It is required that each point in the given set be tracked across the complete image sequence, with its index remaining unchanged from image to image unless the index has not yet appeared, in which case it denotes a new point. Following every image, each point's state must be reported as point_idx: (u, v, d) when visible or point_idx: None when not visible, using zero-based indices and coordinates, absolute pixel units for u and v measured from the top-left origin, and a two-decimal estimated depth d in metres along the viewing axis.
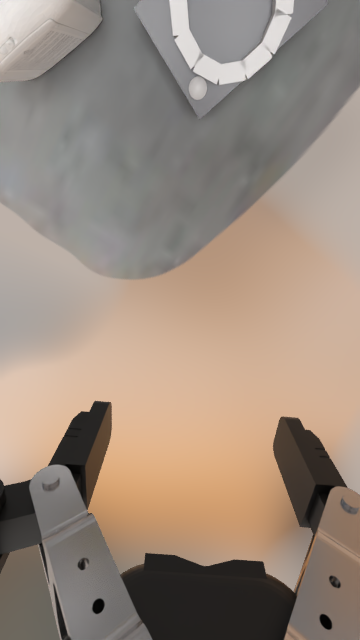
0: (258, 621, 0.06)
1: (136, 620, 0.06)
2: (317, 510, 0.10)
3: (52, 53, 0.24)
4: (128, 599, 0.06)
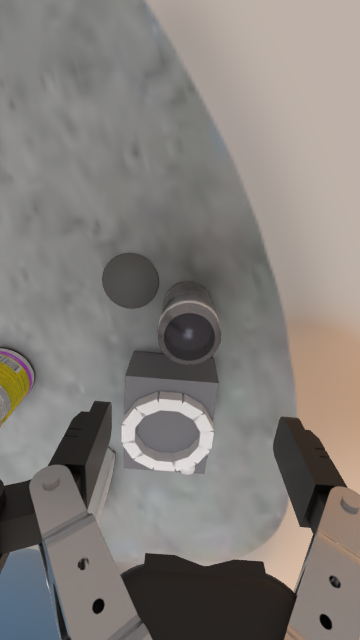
0: (258, 621, 0.06)
1: (136, 620, 0.06)
2: (317, 510, 0.10)
3: (103, 508, 0.35)
4: (128, 599, 0.06)
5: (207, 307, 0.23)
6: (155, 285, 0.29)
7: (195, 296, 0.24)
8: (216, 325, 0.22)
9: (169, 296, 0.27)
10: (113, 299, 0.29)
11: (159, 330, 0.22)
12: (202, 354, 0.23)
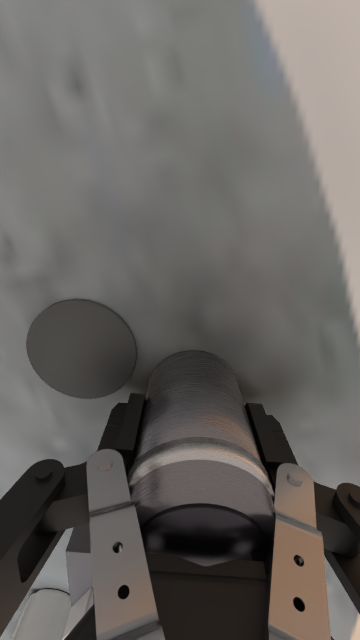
0: (258, 621, 0.06)
1: (155, 620, 0.06)
2: None
3: None
4: (151, 596, 0.06)
5: (247, 469, 0.09)
6: (130, 359, 0.15)
7: (213, 419, 0.10)
8: None
9: (155, 395, 0.13)
10: (51, 383, 0.15)
11: None
12: None
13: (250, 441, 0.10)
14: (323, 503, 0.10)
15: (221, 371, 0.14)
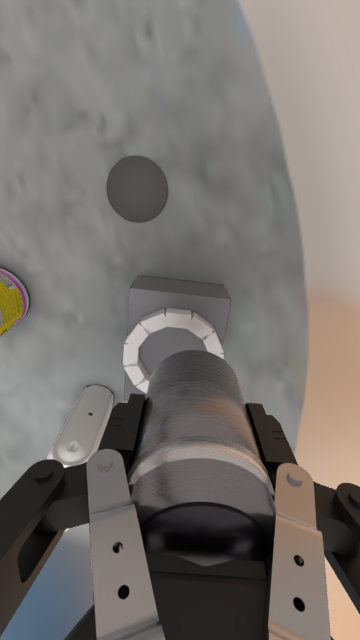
0: (258, 621, 0.06)
1: (155, 620, 0.06)
2: None
3: None
4: (151, 596, 0.06)
5: (247, 468, 0.09)
6: (164, 195, 0.27)
7: (213, 418, 0.10)
8: None
9: (155, 394, 0.13)
10: (117, 210, 0.27)
11: None
12: None
13: (250, 440, 0.10)
14: (323, 503, 0.10)
15: (221, 370, 0.14)
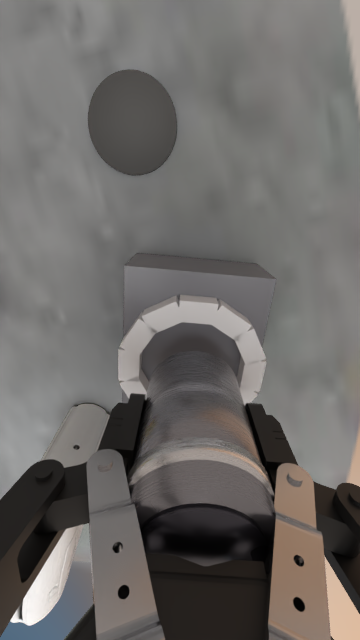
0: (258, 621, 0.06)
1: (155, 619, 0.06)
2: None
3: None
4: (151, 596, 0.06)
5: (247, 469, 0.09)
6: (172, 131, 0.18)
7: (213, 419, 0.10)
8: None
9: (155, 395, 0.13)
10: (105, 157, 0.19)
11: None
12: None
13: (250, 441, 0.10)
14: (323, 503, 0.10)
15: (221, 371, 0.14)
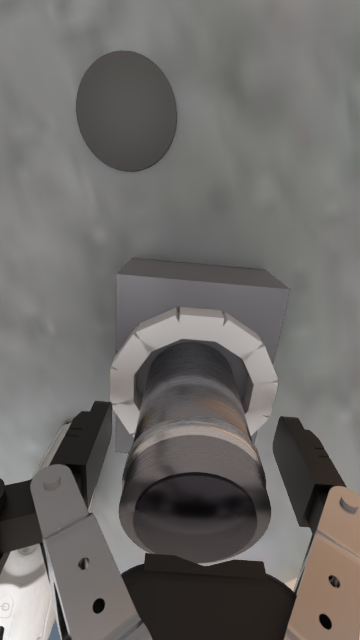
0: (258, 621, 0.06)
1: (136, 620, 0.06)
2: (316, 509, 0.10)
3: None
4: (128, 599, 0.06)
5: (237, 444, 0.10)
6: (171, 121, 0.16)
7: (207, 401, 0.11)
8: (260, 496, 0.09)
9: (154, 382, 0.14)
10: (96, 151, 0.17)
11: (122, 504, 0.09)
12: (225, 553, 0.10)
13: (242, 422, 0.11)
14: None
15: (216, 360, 0.15)
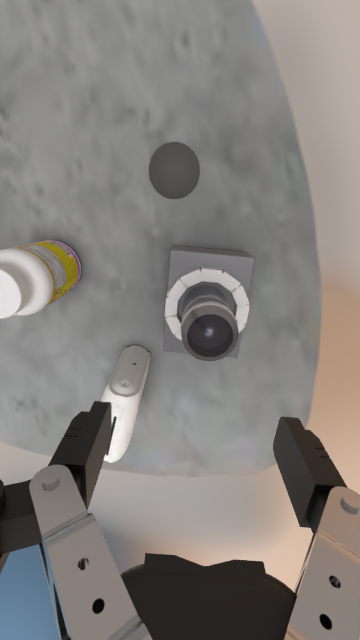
0: (258, 621, 0.06)
1: (136, 620, 0.06)
2: (317, 510, 0.10)
3: None
4: (128, 599, 0.06)
5: (226, 309, 0.25)
6: (196, 174, 0.32)
7: (214, 299, 0.27)
8: (234, 325, 0.25)
9: (189, 299, 0.29)
10: (158, 189, 0.33)
11: (183, 329, 0.25)
12: (221, 351, 0.25)
13: None
14: None
15: (218, 292, 0.30)
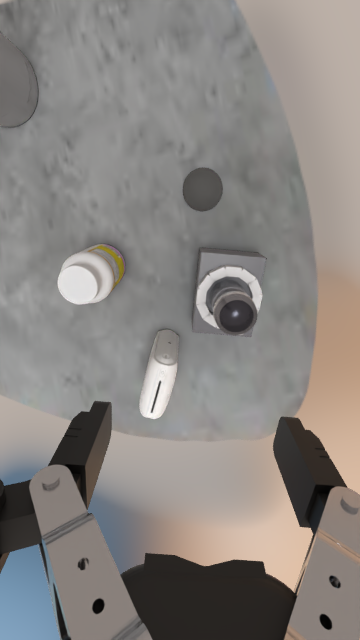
0: (258, 621, 0.06)
1: (136, 620, 0.06)
2: (317, 510, 0.10)
3: None
4: (128, 599, 0.06)
5: (248, 296, 0.34)
6: (220, 192, 0.41)
7: (238, 289, 0.36)
8: (254, 308, 0.34)
9: (217, 290, 0.38)
10: (189, 203, 0.41)
11: (216, 311, 0.34)
12: (244, 327, 0.34)
13: None
14: None
15: (238, 284, 0.39)
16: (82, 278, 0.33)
